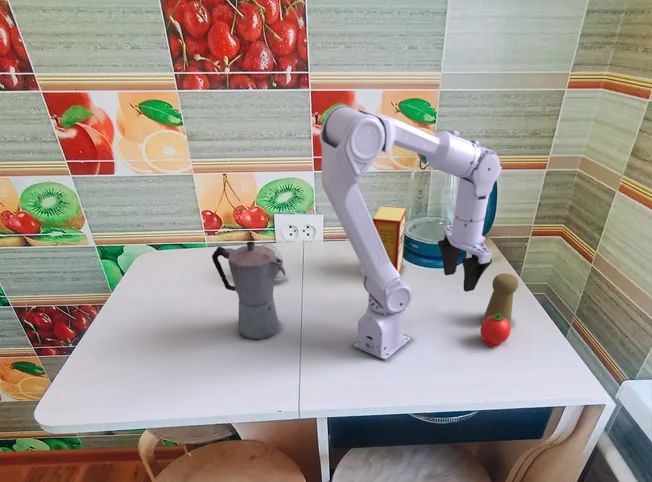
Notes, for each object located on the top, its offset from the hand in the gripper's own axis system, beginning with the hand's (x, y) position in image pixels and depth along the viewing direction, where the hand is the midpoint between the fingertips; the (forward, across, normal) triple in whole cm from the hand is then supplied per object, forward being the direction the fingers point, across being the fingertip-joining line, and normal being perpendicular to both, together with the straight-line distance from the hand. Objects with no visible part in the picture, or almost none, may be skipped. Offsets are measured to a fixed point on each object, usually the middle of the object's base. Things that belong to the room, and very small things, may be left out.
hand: (458, 281), depth 96 cm
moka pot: (+11, +14, +41) cm, 44 cm away
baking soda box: (+11, +28, +3) cm, 31 cm away
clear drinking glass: (+11, +38, +32) cm, 51 cm away
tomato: (+10, -9, -4) cm, 14 cm away
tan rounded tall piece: (+10, -3, -10) cm, 15 cm away
